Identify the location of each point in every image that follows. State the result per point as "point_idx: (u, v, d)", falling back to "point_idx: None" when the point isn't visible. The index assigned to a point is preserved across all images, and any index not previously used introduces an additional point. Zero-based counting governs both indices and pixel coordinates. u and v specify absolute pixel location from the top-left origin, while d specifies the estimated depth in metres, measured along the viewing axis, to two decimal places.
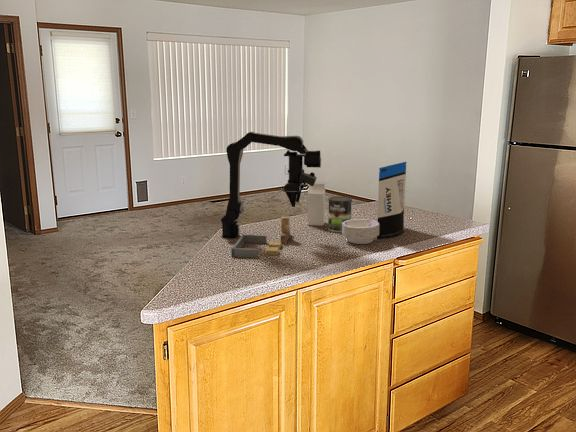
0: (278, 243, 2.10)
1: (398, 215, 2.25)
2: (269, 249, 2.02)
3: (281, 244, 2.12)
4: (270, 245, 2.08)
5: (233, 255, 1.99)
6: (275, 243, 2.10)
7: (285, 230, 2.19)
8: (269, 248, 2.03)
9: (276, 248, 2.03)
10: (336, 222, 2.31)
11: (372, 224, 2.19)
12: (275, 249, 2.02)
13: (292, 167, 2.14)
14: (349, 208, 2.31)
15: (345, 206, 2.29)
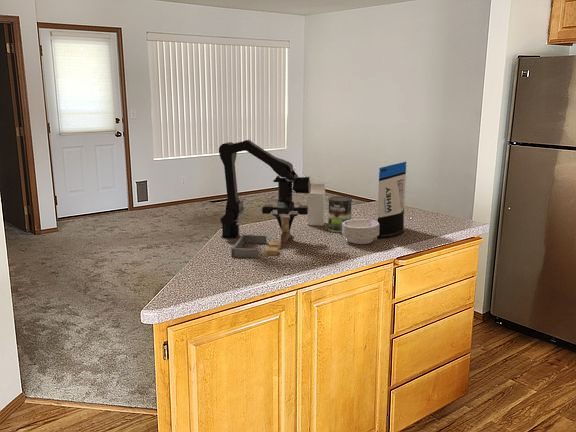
0: (278, 243, 2.10)
1: (398, 215, 2.25)
2: (269, 249, 2.02)
3: (281, 244, 2.12)
4: (270, 245, 2.08)
5: (233, 255, 1.99)
6: (275, 243, 2.10)
7: (285, 230, 2.19)
8: (269, 248, 2.03)
9: (276, 248, 2.03)
10: (336, 222, 2.31)
11: (372, 224, 2.19)
12: (275, 249, 2.02)
13: (281, 193, 2.15)
14: (349, 208, 2.31)
15: (345, 206, 2.29)
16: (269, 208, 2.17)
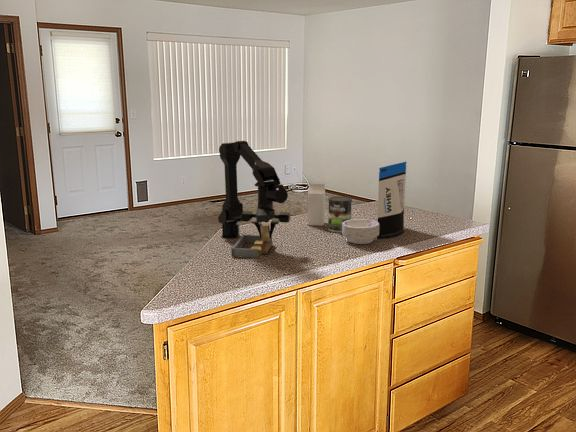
0: None
1: (398, 215, 2.25)
2: (254, 248, 2.02)
3: None
4: (255, 244, 2.09)
5: (233, 255, 1.99)
6: (260, 242, 2.11)
7: (266, 239, 2.05)
8: (254, 247, 2.04)
9: None
10: (336, 222, 2.31)
11: (372, 224, 2.19)
12: (260, 248, 2.02)
13: (258, 198, 2.02)
14: (349, 208, 2.31)
15: (345, 206, 2.29)
16: (248, 215, 2.02)
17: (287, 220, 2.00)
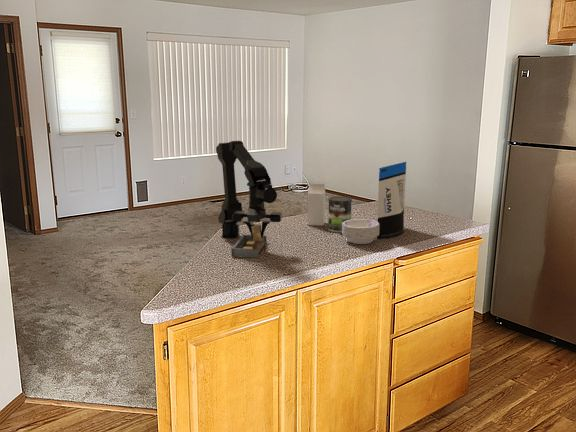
0: None
1: (398, 215, 2.25)
2: (245, 248, 2.03)
3: None
4: (247, 244, 2.10)
5: (233, 255, 1.99)
6: (252, 242, 2.11)
7: (257, 238, 2.05)
8: (245, 248, 2.04)
9: (252, 248, 2.04)
10: (336, 222, 2.31)
11: (372, 224, 2.19)
12: (251, 248, 2.03)
13: (249, 198, 2.02)
14: (349, 208, 2.31)
15: (345, 206, 2.29)
16: (239, 215, 2.02)
17: (278, 220, 2.01)
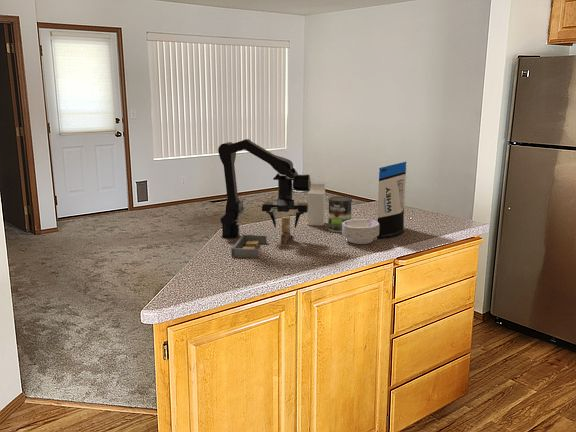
0: (255, 242, 2.11)
1: (398, 215, 2.25)
2: (245, 248, 2.03)
3: (258, 243, 2.13)
4: (247, 244, 2.10)
5: (233, 255, 1.99)
6: (252, 242, 2.11)
7: (285, 230, 2.19)
8: (245, 247, 2.04)
9: (252, 247, 2.04)
10: (336, 222, 2.31)
11: (372, 224, 2.19)
12: (251, 248, 2.03)
13: (281, 191, 2.15)
14: (349, 208, 2.31)
15: (345, 206, 2.29)
16: (269, 206, 2.17)
17: (305, 210, 2.15)
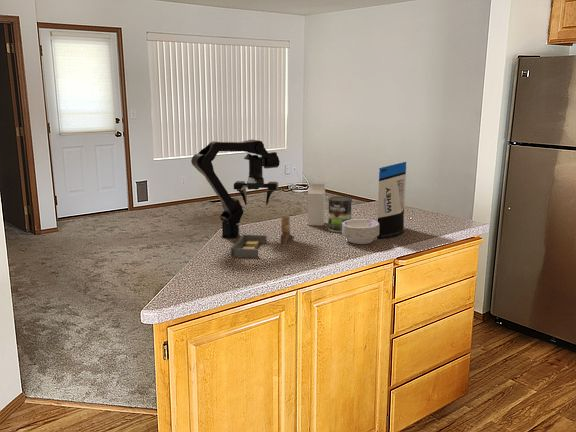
0: (255, 242, 2.11)
1: (398, 215, 2.25)
2: (245, 248, 2.03)
3: (258, 243, 2.13)
4: (247, 244, 2.10)
5: (233, 255, 1.99)
6: (252, 242, 2.11)
7: (285, 230, 2.19)
8: (245, 247, 2.04)
9: (252, 247, 2.04)
10: (336, 222, 2.31)
11: (372, 224, 2.19)
12: (251, 248, 2.03)
13: (256, 169, 2.24)
14: (349, 208, 2.31)
15: (345, 206, 2.29)
16: (240, 184, 2.26)
17: (275, 188, 2.25)
